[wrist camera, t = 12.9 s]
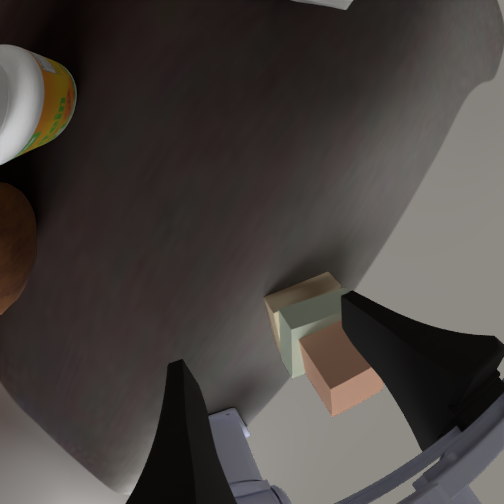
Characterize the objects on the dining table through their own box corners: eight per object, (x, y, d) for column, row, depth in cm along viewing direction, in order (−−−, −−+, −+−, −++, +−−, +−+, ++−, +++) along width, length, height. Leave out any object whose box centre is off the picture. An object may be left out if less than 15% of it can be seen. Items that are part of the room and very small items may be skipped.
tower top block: (281, 358, 26) (292, 378, 24) (277, 308, 23) (291, 329, 21) (339, 337, 27) (353, 354, 25) (345, 287, 24) (361, 304, 22)
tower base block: (274, 341, 28) (283, 359, 26) (262, 295, 25) (273, 313, 23) (329, 317, 29) (342, 333, 27) (325, 269, 26) (340, 284, 24)
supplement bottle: (46, 161, 15) (-31, 218, 7) (-10, 120, 12) (-106, 148, 4) (95, 88, 14) (42, 73, 6) (37, 46, 11) (-45, 13, 3)
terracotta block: (305, 372, 24) (332, 417, 20) (298, 340, 22) (330, 389, 18) (351, 349, 25) (382, 389, 21) (350, 315, 22) (387, 357, 18)
